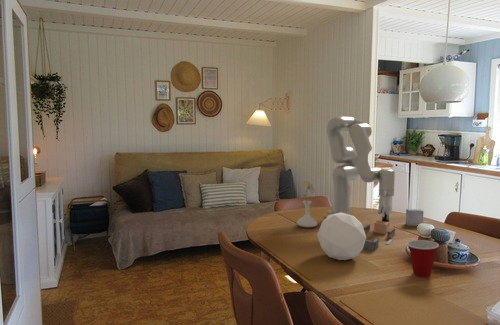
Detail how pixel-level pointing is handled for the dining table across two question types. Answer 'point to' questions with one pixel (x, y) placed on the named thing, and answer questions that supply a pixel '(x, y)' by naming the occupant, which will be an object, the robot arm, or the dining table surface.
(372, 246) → the trap bay
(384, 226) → the block
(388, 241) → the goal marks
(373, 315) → the dining table surface
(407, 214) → the medicine box
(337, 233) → the ball
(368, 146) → the robot arm
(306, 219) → the flower in vase
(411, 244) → the plastic cup
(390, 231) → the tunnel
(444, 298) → the dining table surface
